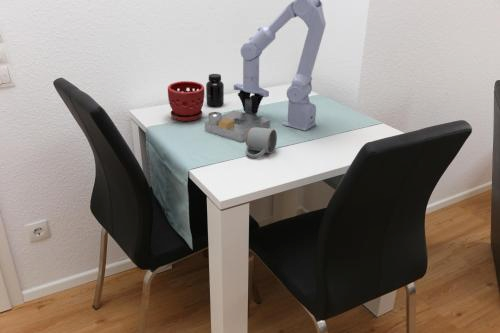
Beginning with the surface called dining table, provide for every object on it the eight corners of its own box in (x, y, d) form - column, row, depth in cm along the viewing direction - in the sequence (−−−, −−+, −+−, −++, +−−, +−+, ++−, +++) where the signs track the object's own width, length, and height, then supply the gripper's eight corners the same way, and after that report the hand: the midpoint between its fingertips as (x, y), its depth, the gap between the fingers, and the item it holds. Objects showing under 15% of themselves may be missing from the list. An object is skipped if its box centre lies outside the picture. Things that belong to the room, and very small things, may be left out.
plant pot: (163, 121, 171) (160, 89, 165) (179, 109, 182) (177, 79, 177) (196, 125, 167) (194, 93, 162) (210, 113, 178) (209, 82, 173)
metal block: (256, 116, 176) (256, 98, 173) (251, 118, 174) (251, 100, 171) (249, 114, 178) (249, 96, 174) (245, 116, 175) (245, 98, 172)
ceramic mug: (253, 143, 153) (253, 121, 150) (277, 148, 150) (277, 125, 147) (239, 156, 145) (239, 133, 141) (264, 161, 142) (264, 138, 138)
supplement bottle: (204, 106, 185) (203, 76, 180) (210, 101, 191) (209, 72, 186) (220, 108, 183) (219, 78, 178) (226, 103, 189) (225, 73, 184)
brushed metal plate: (269, 127, 166) (270, 111, 163) (241, 142, 154) (241, 125, 152) (233, 118, 174) (233, 102, 172) (205, 130, 163) (204, 114, 160)
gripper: (274, 77, 168) (272, 113, 174) (241, 70, 176) (241, 104, 182) (262, 81, 163) (261, 118, 169) (230, 74, 170) (230, 109, 177)
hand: (250, 111), depth 175 cm, fingers open, 3 cm apart
